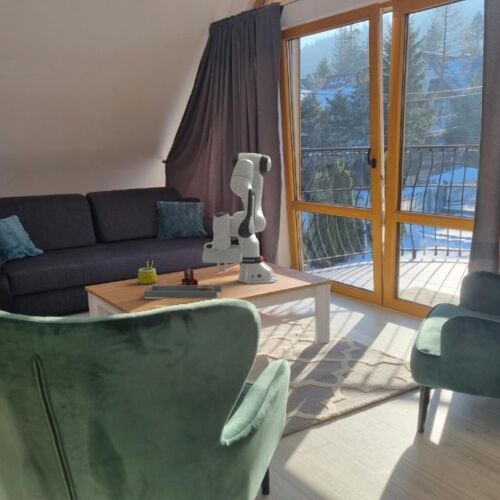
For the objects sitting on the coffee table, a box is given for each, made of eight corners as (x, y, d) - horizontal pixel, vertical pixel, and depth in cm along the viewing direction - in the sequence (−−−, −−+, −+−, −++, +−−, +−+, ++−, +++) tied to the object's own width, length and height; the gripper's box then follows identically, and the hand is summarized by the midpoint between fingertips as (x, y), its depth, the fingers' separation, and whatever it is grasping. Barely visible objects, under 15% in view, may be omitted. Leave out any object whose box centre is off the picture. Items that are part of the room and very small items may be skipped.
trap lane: (221, 293, 301) (221, 285, 300) (216, 299, 289) (216, 291, 288) (152, 292, 306) (151, 285, 306) (144, 298, 294) (144, 291, 294)
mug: (148, 285, 322) (147, 264, 320) (134, 283, 328) (132, 263, 325) (163, 280, 332) (162, 260, 330) (149, 279, 338) (148, 259, 336)
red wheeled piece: (192, 282, 325) (191, 264, 323) (199, 287, 314) (198, 269, 312) (180, 284, 322) (179, 266, 321) (187, 289, 311) (186, 270, 309)
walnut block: (214, 292, 298) (214, 285, 297) (212, 295, 292) (211, 288, 291) (199, 292, 299) (199, 285, 298) (196, 295, 293) (196, 288, 292)
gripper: (243, 243, 291) (243, 270, 293) (203, 243, 294) (204, 269, 296) (241, 245, 284) (241, 273, 287) (200, 245, 287) (201, 272, 290)
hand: (222, 271), depth 291 cm, fingers closed
